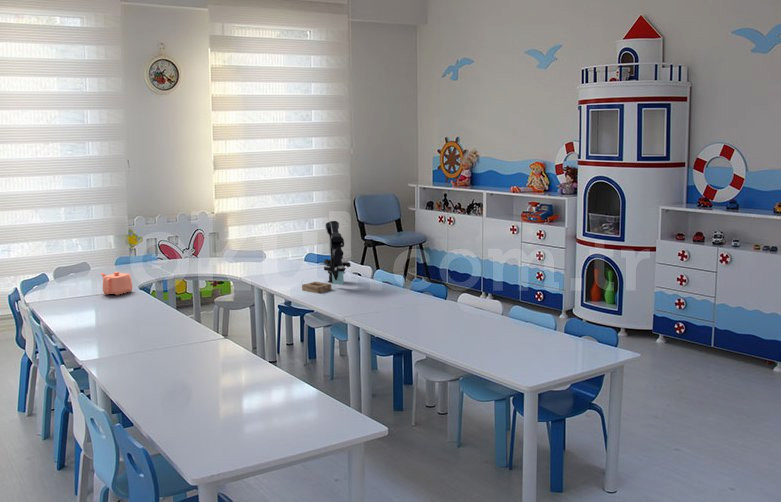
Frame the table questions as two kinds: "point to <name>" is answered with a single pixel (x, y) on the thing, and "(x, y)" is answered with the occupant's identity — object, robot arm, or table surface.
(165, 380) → the table surface
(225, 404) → the table surface
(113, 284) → the teapot
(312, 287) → the well block
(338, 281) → the bracket
